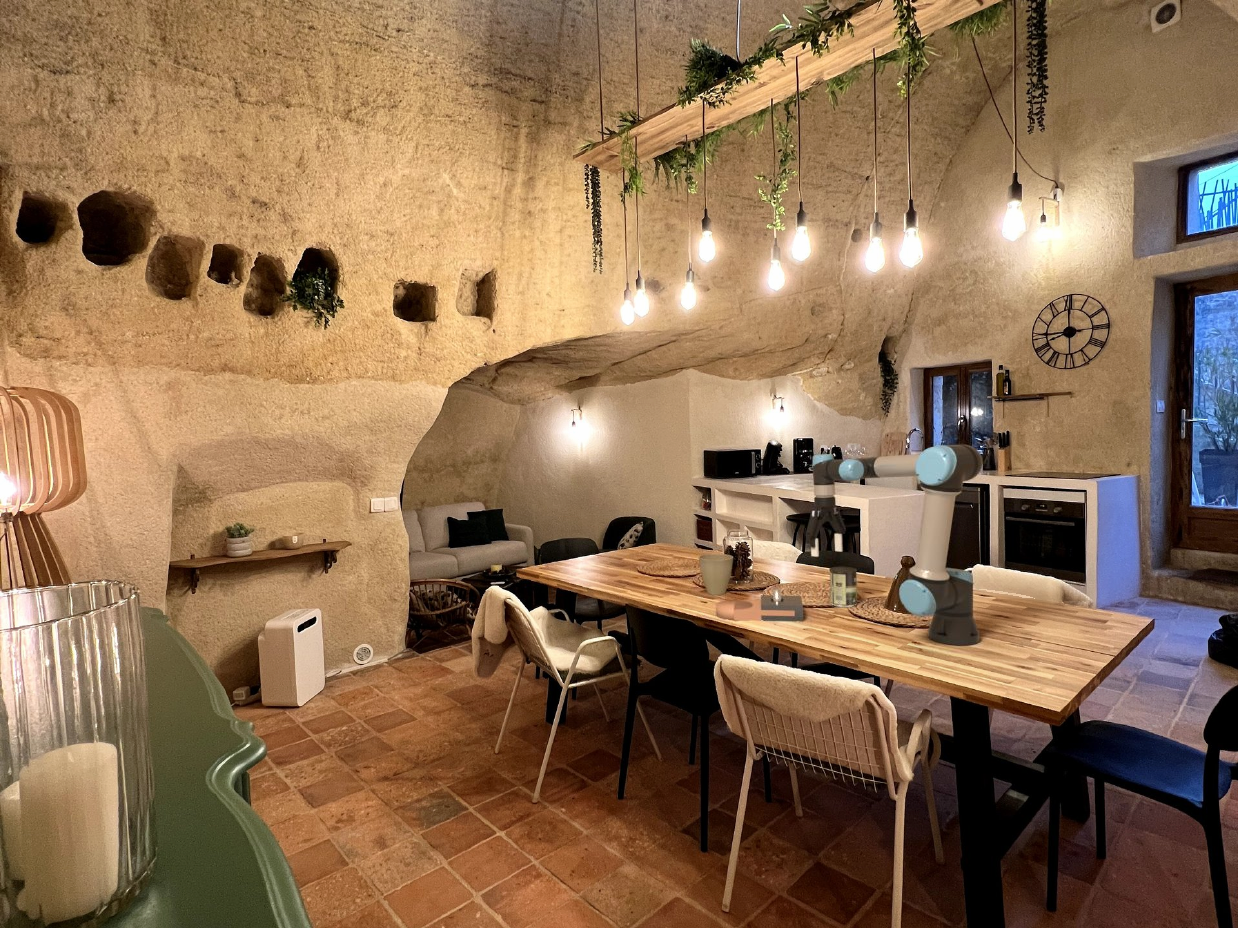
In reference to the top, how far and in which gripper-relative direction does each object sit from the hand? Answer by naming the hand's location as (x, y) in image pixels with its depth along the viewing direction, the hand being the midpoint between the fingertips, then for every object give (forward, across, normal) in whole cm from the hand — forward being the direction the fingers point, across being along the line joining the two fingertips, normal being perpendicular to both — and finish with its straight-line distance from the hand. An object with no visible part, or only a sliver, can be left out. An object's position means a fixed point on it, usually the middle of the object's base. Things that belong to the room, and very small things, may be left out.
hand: (827, 553), depth 255 cm
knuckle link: (+23, +17, -21) cm, 36 cm away
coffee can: (+24, -20, -9) cm, 33 cm away
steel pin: (+24, +12, -15) cm, 30 cm away
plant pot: (+22, +4, -56) cm, 61 cm away
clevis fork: (+24, +11, -14) cm, 29 cm away
